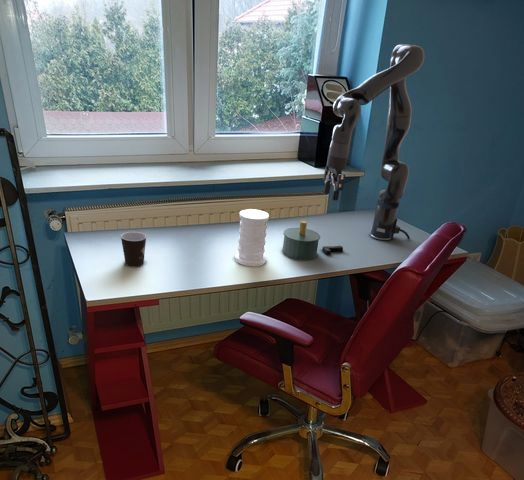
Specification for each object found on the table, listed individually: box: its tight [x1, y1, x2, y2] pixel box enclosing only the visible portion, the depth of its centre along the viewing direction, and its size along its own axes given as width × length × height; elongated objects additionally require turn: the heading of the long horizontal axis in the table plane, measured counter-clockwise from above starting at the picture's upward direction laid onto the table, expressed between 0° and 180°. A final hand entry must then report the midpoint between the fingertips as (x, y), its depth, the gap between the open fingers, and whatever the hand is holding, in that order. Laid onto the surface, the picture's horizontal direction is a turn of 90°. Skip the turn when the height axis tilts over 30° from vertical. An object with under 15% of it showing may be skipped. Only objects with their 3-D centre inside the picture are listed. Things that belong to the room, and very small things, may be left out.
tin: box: [282, 235, 320, 261], centre depth 211 cm, size 14×14×8 cm
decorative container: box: [234, 208, 270, 267], centre depth 197 cm, size 12×12×18 cm
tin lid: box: [282, 220, 321, 242], centre depth 207 cm, size 15×15×6 cm
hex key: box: [321, 245, 344, 256], centre depth 216 cm, size 8×5×2 cm, turn 107°
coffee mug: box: [120, 231, 147, 268], centre depth 189 cm, size 12×9×10 cm
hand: (330, 196), depth 210 cm, fingers open, 8 cm apart
